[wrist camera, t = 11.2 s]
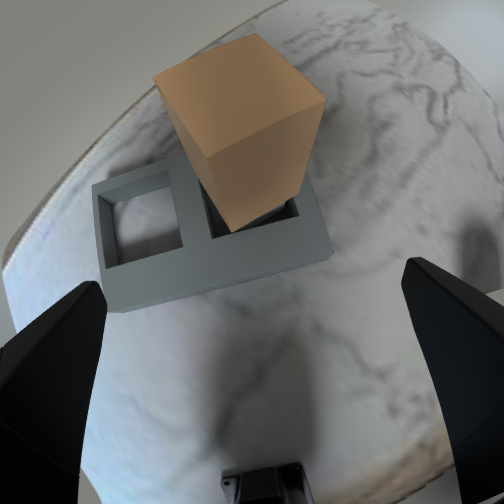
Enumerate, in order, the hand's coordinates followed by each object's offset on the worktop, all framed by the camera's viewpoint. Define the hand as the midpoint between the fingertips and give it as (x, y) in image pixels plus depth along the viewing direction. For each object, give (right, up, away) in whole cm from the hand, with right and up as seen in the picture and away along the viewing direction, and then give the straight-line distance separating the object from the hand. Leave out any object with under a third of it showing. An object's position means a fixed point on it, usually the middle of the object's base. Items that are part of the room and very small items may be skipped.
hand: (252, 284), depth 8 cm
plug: (0, +5, +15) cm, 16 cm away
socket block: (-4, +3, +15) cm, 15 cm away
